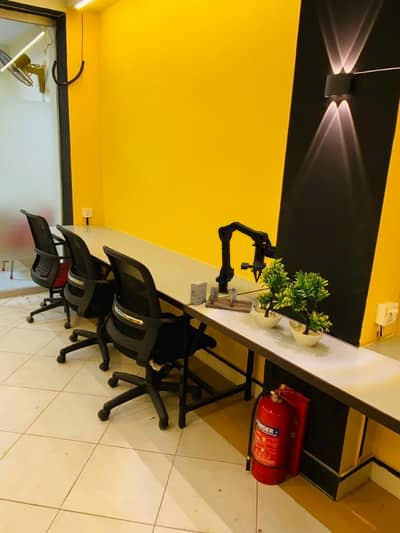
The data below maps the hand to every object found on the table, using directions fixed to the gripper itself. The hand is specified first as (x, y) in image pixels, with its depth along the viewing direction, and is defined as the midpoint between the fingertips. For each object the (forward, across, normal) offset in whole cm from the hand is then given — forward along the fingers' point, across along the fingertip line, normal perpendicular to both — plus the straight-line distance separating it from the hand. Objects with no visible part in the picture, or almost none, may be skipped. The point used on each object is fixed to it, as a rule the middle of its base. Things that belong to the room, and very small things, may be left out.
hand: (256, 282), depth 219 cm
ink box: (+12, -30, -12) cm, 35 cm away
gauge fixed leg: (+10, -22, -10) cm, 26 cm away
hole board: (+12, -13, -11) cm, 21 cm away
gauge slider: (+10, -12, -10) cm, 18 cm away
